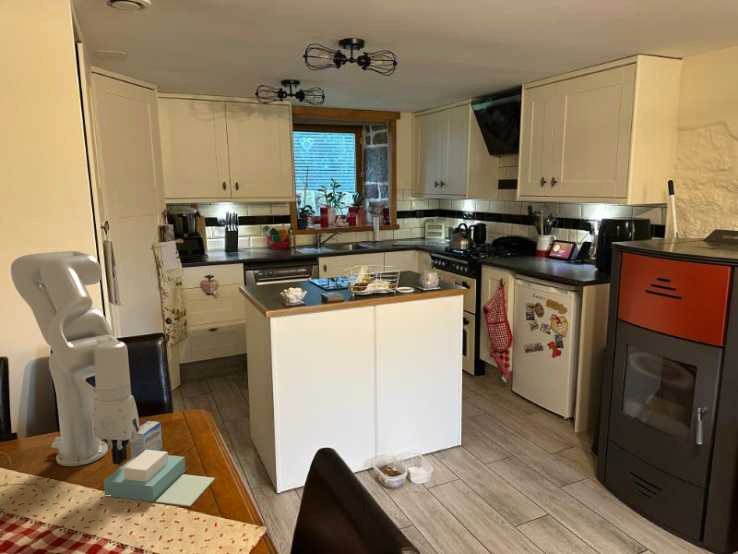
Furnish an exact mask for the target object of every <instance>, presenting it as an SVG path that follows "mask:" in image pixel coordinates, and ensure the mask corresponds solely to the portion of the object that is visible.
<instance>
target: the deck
mask: <svg viewBox="0 0 738 554" xmlns="http://www.w3.org/2000/svg"><path fill="white" fill-rule="evenodd" d="M141 453H143V452H140V453H138V454H137V455H136V456H134V457H133V458H132V459H129V460H128V461H127V462H126V463H124V464H123V465H122V466H120V467H119V468H117V469H116V470H115V471H114V472H112V473H111V474H110V475H109V476H107V477H106V478H105V479H104V480H103V488H104V490H103V491H104V496H105V495H111V496H116V497H115V498H117V497H121V498H120V499H125V498H128V500H134V501H135V500H136V501H142V502H149V503H154V502H155V501H156V500H157V499H158V498H159V497H160V496H161V495H162V494H163V493H164V492H165V491H166V490H167V489H168V488H169V487H170V486H171V485H172V484H173V483H174V482H175V481H177V480H178V479H179V478H180V477H181V476H182V475H183V474H184V473H185V472H186V460H185V459H186V458H185V456H180V455H171V454H170V455H169V454H168V463H167V464H166V465H165V466H164V467H163V468H162V469H161V470H160V471H158V472H157V473H156V474H155V475H154V476H153V477H152V478H151V479H149V480H148V481H147V482H143V481H135V480H126V479H124V467H125V466H126V465H128V464H129V463H130V462H131V461H133V460H134V459H135V458H136V457H138V456H139V455H140V454H141Z"/></svg>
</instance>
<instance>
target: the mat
mask: <svg viewBox="0 0 738 554" xmlns="http://www.w3.org/2000/svg"><path fill="white" fill-rule="evenodd" d="M215 480H216V477H209V476H203V475H201V476H200V475H192V474H184V473H183V474H182V475H181V476H180V477H179V478H178V479H177V480H176V481H175V482H174V483H173V484H172V485H171V486H170V487H169V488H167V489H166V490H165V491H164V492H163V493H162V494H161V495H160V496H159V497H158V498H157V499H156V500H155V501H154V502H155V503H158V504H165V505H166V504H167V505H174V506H180V507H181V506H182V507H189V508H191V507H192V506H193V505H194V504H195V502H196V501H197V500H198V499H199V497H201V495H202V494H203V493H204V492H205V491H206V490H207V489H208V488H209V487H210V485H211V484H212V483H214V481H215Z"/></svg>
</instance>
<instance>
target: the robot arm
mask: <svg viewBox="0 0 738 554" xmlns="http://www.w3.org/2000/svg"><path fill="white" fill-rule="evenodd" d="M102 271H103V270H102V267H101V265H100V263H99V261H98V260H97V259H96V257H94V256H93V255H91V254H89V253H85V252H81V251H78V250H64V251H51V252H39V253H31V254H26V255H22V256H19V257H17V258H15V259H14V260H13V261H12V263H11V265H10V275H11V279H12V282H13V285H14V287H15V289H16V291H17V293H18V294H19V295H20V297H21V298H22V299H23V300H24V302H25V303H26V304H27V305H28V306H29V309H31V311H32V313H33V316H34V318H35V320H36V323H37V325H38V329H39V331H40V332H41V335H42V337H43V339H44V341H45V342H46V344H47V345H48V346H50V349H51V351H52V353H51V355H50V356H49V358H48V368H49V371H50V375H51V378H52V380H53V385H54V389H55V394H56V404H57V414H58V422H59V423H58V424H59V432H60V433H59V434H60V436H56V437H55V438H54V439H53V442H52V443H51V448H53V449H58V453H57V454H56V457H55V460H56V463H57V464H58V465H60V466H64V467H78V466H83V465H88V464H90V463H93V462H96V461H98V460H99V459H101V458H103V457H104V456H105V455H106V454H107V453H108V451H109V449H110V450H111V458H112V465H118V466H119V465H121V464H122V463H124V462H125V461H127V459H128V457H127V456H128V451H127V445H129V444H130V443H131V442H135V441H137V440H138V439H139V437H138V434H137V432H138V431H139V427H140V422H139V421H140V420H139V419H140V418H139V414H138V413H139V412H138V408H137V404H136V400H135V398H134V395H132V390H131V389H132V388H131V379H130V378H131V374H130V365H129V353H128V352H129V351H128V346H127V344H126V343H125V342H123V341H122V340H121V341H119V339H117V337H115V335H114V333H113V331H112V329H111V327H110V325H109V322H108V320H107V318H106V316H105V315H104V313H103V312H102V311H101V310H100V309H98V308H95V307H92V306H93V300H92V297H91V295H90V293H89V292H88V289H87V288H86V286H91V285H96V284H98V283H99V282H100V281H101V280H102V275H103V272H102ZM91 377H94V379H95V386H93V385H91V384H90V383H88V382H87V381H86V380H87V378H88V379H89V378H91Z"/></svg>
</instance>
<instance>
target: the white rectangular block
mask: <svg viewBox="0 0 738 554" xmlns="http://www.w3.org/2000/svg"><path fill="white" fill-rule="evenodd" d="M168 455H169V453H168V451H165V450H162V451H155V450H145V451H144V452H143V453H141V454H140V455H139V456H138V457H136V458H135V459H134V460H133V461H131V462H130V463H129V464H128V465H126V466H125V467H124V479H126V480H135V481H143V482H147V481H148V480H149V479H151V478H152V477H153V476H154V475H155V474H156V473H157V472H158V471H160V470H161V469H162V468H163V467H164V466H165V465H166V464H167V463H168Z"/></svg>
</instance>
